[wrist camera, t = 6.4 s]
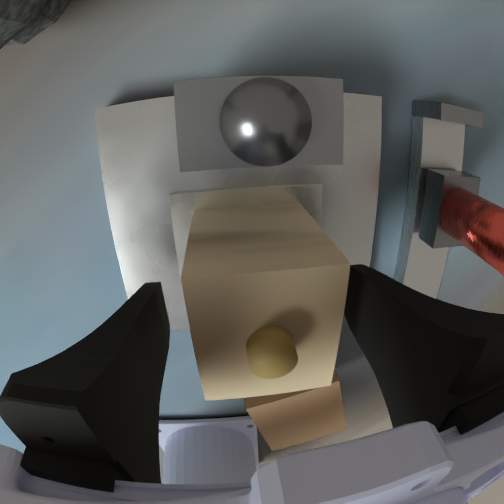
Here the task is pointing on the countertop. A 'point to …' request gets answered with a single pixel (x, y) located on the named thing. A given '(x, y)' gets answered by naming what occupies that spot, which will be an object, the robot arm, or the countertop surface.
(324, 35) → the countertop surface
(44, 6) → the mortar and pestle
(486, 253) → the lever
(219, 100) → the press
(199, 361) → the block
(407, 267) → the rail
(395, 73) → the countertop surface
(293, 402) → the block
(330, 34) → the countertop surface
